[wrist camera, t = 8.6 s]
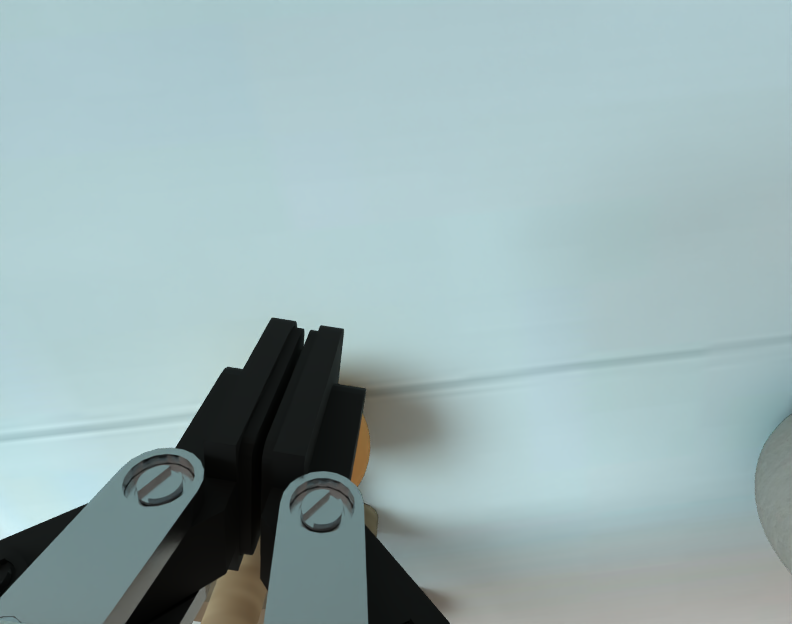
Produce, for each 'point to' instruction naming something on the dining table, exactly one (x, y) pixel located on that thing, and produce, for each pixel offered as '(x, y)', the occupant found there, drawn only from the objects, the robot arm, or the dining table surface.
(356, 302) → the dining table surface
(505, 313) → the dining table surface
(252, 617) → the pin
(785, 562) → the ball
